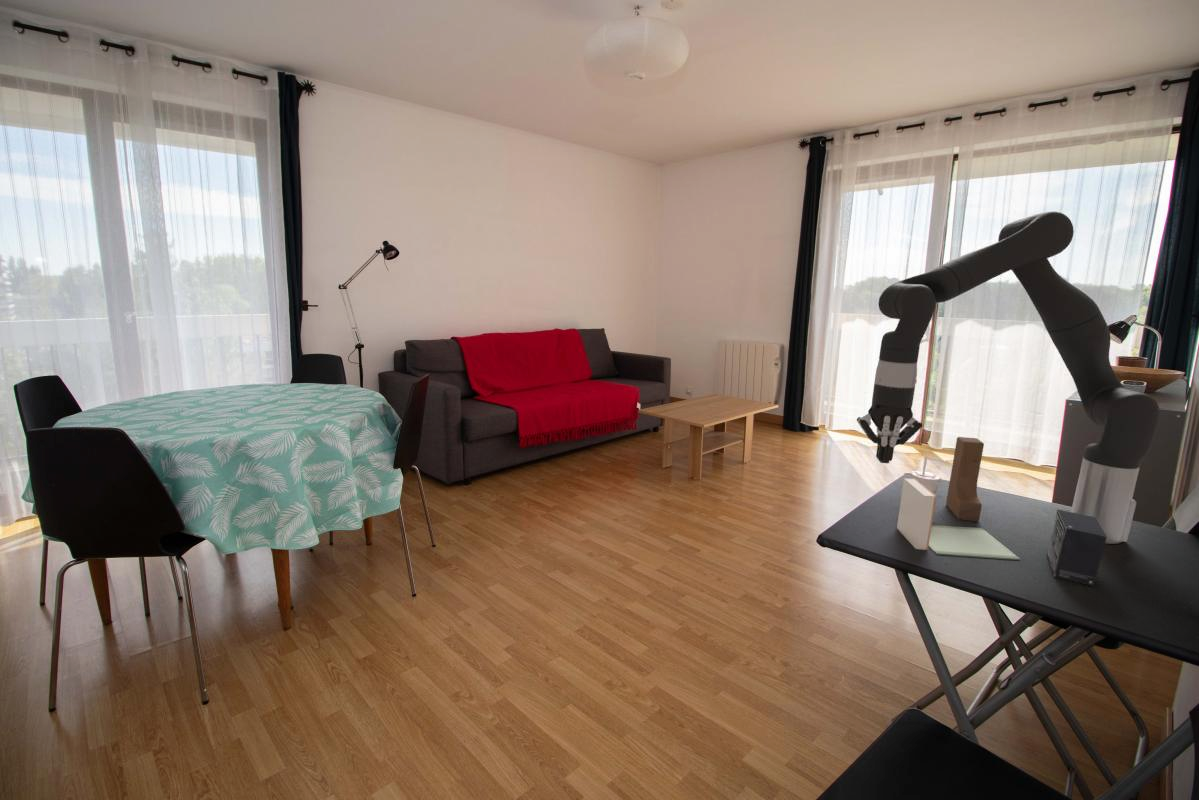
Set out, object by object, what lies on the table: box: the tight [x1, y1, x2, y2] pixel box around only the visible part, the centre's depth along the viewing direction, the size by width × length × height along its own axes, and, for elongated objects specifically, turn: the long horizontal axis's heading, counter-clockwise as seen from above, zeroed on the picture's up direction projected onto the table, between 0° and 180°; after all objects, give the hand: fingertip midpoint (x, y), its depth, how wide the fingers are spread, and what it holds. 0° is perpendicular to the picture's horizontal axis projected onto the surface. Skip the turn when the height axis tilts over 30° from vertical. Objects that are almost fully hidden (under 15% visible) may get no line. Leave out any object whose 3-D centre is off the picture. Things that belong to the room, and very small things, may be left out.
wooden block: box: [945, 436, 985, 522], centre depth 133 cm, size 9×4×18 cm, turn 165°
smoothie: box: [909, 456, 942, 495], centre depth 134 cm, size 6×6×14 cm
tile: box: [896, 477, 937, 551], centre depth 121 cm, size 2×10×12 cm, turn 173°
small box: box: [1046, 509, 1107, 587], centre depth 108 cm, size 11×6×10 cm, turn 148°
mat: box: [928, 524, 1021, 561], centre depth 121 cm, size 16×14×1 cm
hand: (883, 462), depth 119 cm, fingers closed
